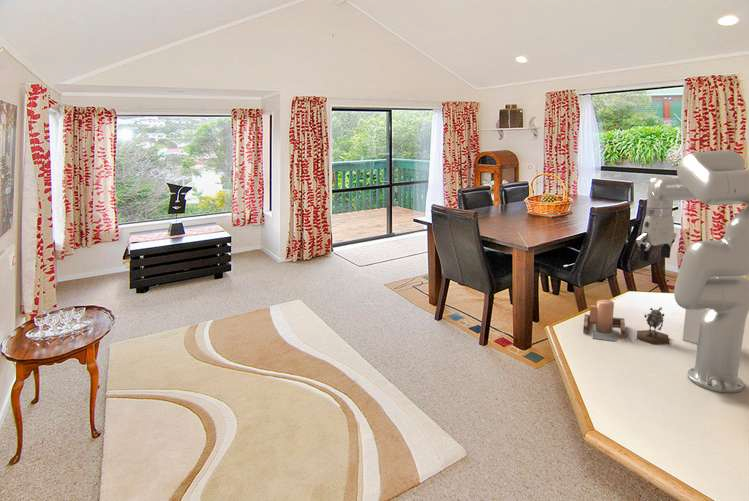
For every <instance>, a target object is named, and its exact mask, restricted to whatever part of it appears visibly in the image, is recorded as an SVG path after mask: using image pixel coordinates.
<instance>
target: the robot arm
mask: <svg viewBox="0 0 749 501" xmlns="http://www.w3.org/2000/svg"><path fill="white" fill-rule="evenodd" d="M745 167H746V162H745V158H744V157H743V156H742V155H741V154H740V153H738V152H736V151H733V150H726V149H725V150H711V151H694V152H690V153H687V154H685V155H684V156H683V157H682V158H681V159H680V161H679V162H678V164H677V168H676V174H677V176H678V177H671V176H652V177H650V178H649V180H648V184H647V185H648V188H647V196H646V198H647V200H646V210H645V216H644V220H643V224H642V229H641V235H640V236H638V237H636V239H635V242H636V244H637V247H638V249H639V250H640V251H639V261H641V262H642V261H643V262H649V259H650V250H649V249H650V248H651V246H660V245H661V246H660V247H661V248H660V257H661V258H666V259H670V258H671V250H672V249H671V248H672V247H673V244H674V243H675V240H676V239H677V238H676V237H677V235H678V234H677V233H676V232H675V222H674V217H673V215H672V214H673V213H672V212H673V204H674V202H673V201H692V200H698V201H699V202H701V203H703V204H705V205H709V206H725V205H727V206H728V205H745V204H746V206H745V208H743V209H742V210H740V211H738V213H737V214H736V215H734V216H733V217H732V219H731V220H730V221H729V223H728V224H727V227H726V230H725V233H724V235H723V237H722V238H720V239H716V240H701V241H700V240H699V241H696V242H694V243H692V244H690V245H689V246H688V247H687V248H686V250H685V251H684V254H683V257H682V259H681V263H680V267H679V269H678V270H679V271H678V273H677V277H676V281H675V284H674V290H673V294H674V300H675V302H676V304H677V305H678V306H679V307H680V308H683V309H685V310H686V309H689V310H707V311H706V312H705V313H704V315H703V317H702V319H701V322H700V328H699V337H698V344H697V347H696V355H695V358H696V359H695V364H694V366H693V367H692V368H689V369H688V370H687V378H688V380H690V381H691V382H692V383H694V384H695V385H698V386H699V387H702V388H704V389H706V390H711V391H715V392H718V393H739V392H741V391H742V390H743V389H744V386H745V383H744V381H743V379H742V378H740V377H739V370H740V363H741V361H740V360H741V354H742V349H743V348H742V346H743V341H744V340H743V339H744V334H745V327H746V323H747V318H748V314H749V279H748V278H746V277H744V276H747V275H748V276H749V169H745Z"/></svg>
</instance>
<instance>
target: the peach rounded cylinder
mask: <svg viewBox="0 0 749 501" xmlns="http://www.w3.org/2000/svg"><path fill="white" fill-rule="evenodd" d="M589 307H590V308H589V315H590V322H596V323H595V331H597V333H601V334H611V333H612V332H613V317H614V310H615V309H614V308H615V303H614V302H613V301H612V300H609V299H598V300H596V305H593V304H591V305H589ZM610 332H611V333H610Z"/></svg>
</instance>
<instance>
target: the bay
mask: <svg viewBox="0 0 749 501" xmlns="http://www.w3.org/2000/svg"><path fill="white" fill-rule="evenodd" d="M588 324H596V322H590V314H584V317H583V328H582V329H583V330H582V331H583V332H582V333H583V334H588ZM613 325H616V327H619V328H620V339H626V334H627V333H626V332H627V330H626V323H625V318H624V317H623V318H621V317H615V316H613ZM613 325H612V326H613Z"/></svg>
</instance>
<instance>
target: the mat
mask: <svg viewBox="0 0 749 501" xmlns="http://www.w3.org/2000/svg"><path fill="white" fill-rule="evenodd" d="M592 339H593V340H599V341H607V342H614V341H615V342H616V335H615V334H610V333H601V332H592Z"/></svg>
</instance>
